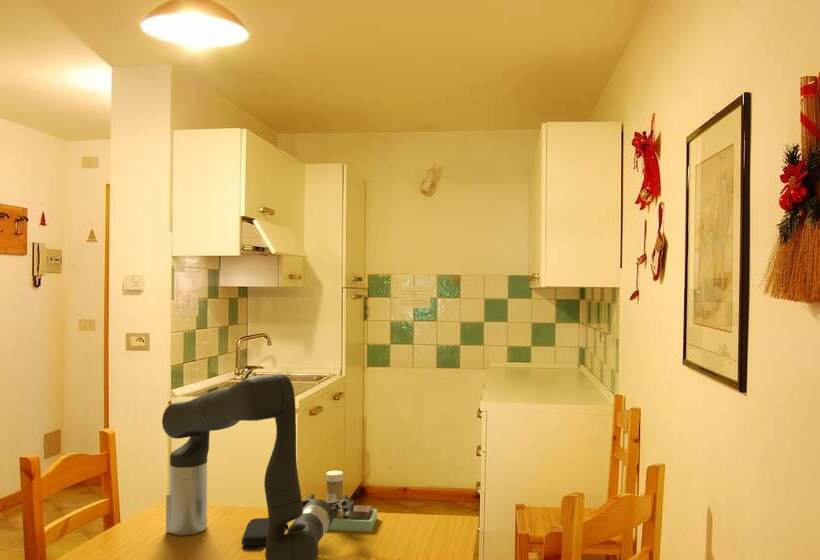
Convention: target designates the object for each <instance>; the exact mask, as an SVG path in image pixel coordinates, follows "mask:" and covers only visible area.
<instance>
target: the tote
mask: <svg viewBox="0 0 820 560" xmlns="http://www.w3.org/2000/svg"><path fill="white" fill-rule="evenodd" d="M377 520H378V508H371V517H370V519H369V520H351V515H350V517H349V518H348V519H344V518H343V519H333V521H332V524H331V525H330V527H329V529H328V530H327V531H342V532H344V531H345V532H362V533H363V532H364V533H365V532H367V533H371V532H372V531H373V529H374V526H375V524H376V523H377Z"/></svg>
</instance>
